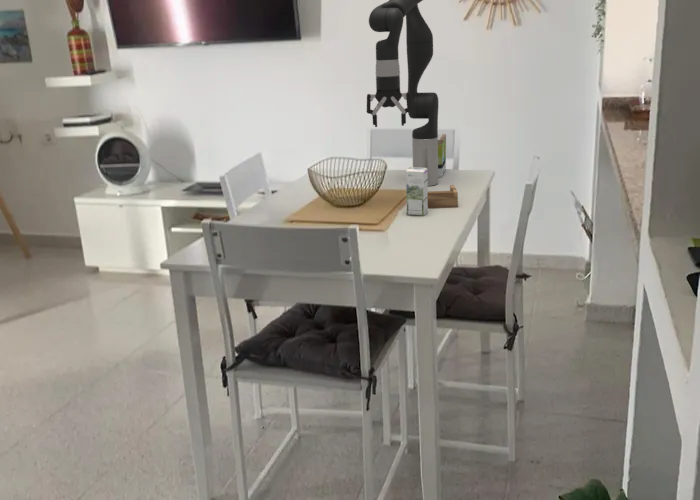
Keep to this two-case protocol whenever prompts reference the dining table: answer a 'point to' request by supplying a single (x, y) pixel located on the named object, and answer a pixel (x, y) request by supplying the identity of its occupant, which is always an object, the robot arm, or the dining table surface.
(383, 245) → the dining table surface
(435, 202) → the walnut tray
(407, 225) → the dining table surface
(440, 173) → the tea box
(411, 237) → the dining table surface
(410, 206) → the syrup box
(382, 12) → the robot arm
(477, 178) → the dining table surface
